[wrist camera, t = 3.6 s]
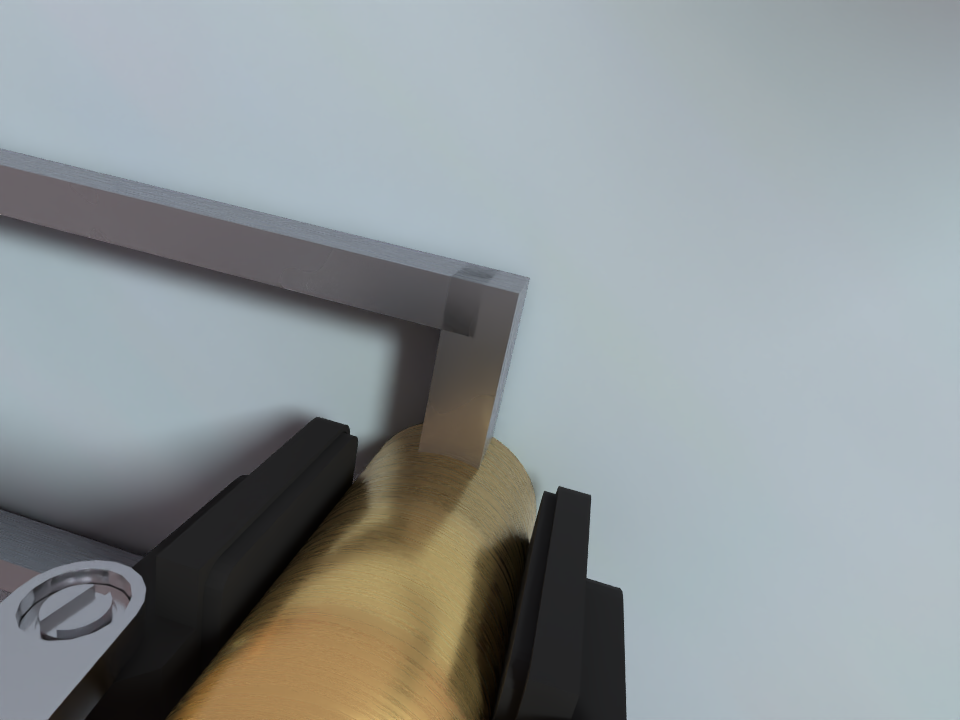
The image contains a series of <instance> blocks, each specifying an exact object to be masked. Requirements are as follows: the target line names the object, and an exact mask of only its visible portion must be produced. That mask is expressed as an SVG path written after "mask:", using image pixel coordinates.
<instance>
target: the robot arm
mask: <svg viewBox="0 0 960 720" xmlns="http://www.w3.org/2000/svg"><path fill="white" fill-rule="evenodd" d="M357 447H358V438H357V437H356V436H353V435H350V428H349V426H348V425H344V424H341V423H338V422H334V421H331V420H327V419H324V418H320V417H316V418H314V419H313V420H312V421H311V422H310V423H308V424H307V425H306V426H305V427H304V428H303V429H302V430H300V431H299V432H298V433H297V434H296V435H295V436H293V437H292V438H291V439H290V440H289V441H288V442H287V443H285V444H284V445H283V446H282V447H281V448H280V449H279V450H277V451H276V452H275V453H274V454H273V455H272V456H271V457H269V458H268V459H267V460H266V461H265V462H264V463H262V464H261V465H260V466H259V467H258V468H257V469H256V470H254V471H253V472H252V473H251V474H250V475H242V476H240V477H239V478H237V479H236V480H234V481H233V482H232V483H231V484H230V485H228V486H227V487H226V488H225V489H224V490H222V491H221V492H220V493H219V494H218V495H217V496H215V497H214V498H213V499H212V500H211V501H210V502H208V503H207V504H206V505H205V506H204V507H202V508H201V509H200V510H199V511H198V512H197V513H195V514H194V515H193V516H192V517H191V518H190V519H188V520H187V521H186V522H185V523H184V524H182V525H181V526H180V527H179V528H178V529H177V530H175V531H174V532H173V533H172V534H171V535H170V536H168V537H167V538H166V539H165V540H164V541H162V542H161V543H160V544H159V545H158V546H157V547H155V548H154V549H153V550H152V551H151V552H150V553H148V554H147V555H146V556H145V557H144V558H142V559H141V560H140V561H139V562H138V563H137V564H135V565H134V566H133V567H132V568H131V567H128V566H125V565H123V564H120V563H117V562H111V561H101V560H93V561H81V562H74V563H71V564H67V565H63V566H59V567H55V568H53V569H51V570H48V571H46V572H44V573H42V574H39V575H37V576H35V577H33V578H32V579H30V580H29V581H27V582H26V583H25V584H23V585H22V586H20V587H19V588H17V589H16V590H15V591H14V592H13V593H11V594H10V595H9V596H8V597H7V598H6V599H4V600H3V601H2V602H1V603H0V720H165V719H166V717H167V716H168V715H169V714H170V712H171V711H172V710H173V709H174V707H175V706H176V705H177V704H178V702H179V701H180V700H181V699H182V697H183V696H184V695H185V694H186V692H187V691H188V690H189V689H190V687H191V686H192V685H193V684H194V682H195V681H196V680H197V679H198V677H199V676H200V675H201V674H202V672H203V671H204V670H205V669H206V667H207V666H208V665H209V664H210V662H211V661H212V660H213V659H214V657H215V656H216V655H217V654H218V652H219V651H220V650H221V649H222V647H223V646H224V645H225V643H226V642H227V641H228V640H229V638H230V637H231V636H232V635H233V633H234V632H235V631H236V630H237V628H238V627H239V626H240V625H241V623H242V622H243V621H244V620H245V618H246V617H247V616H248V615H249V613H250V612H251V611H252V610H253V608H254V607H255V606H256V605H257V603H258V602H259V601H260V600H261V598H262V597H263V596H264V595H265V593H266V592H267V591H268V590H269V588H270V587H271V586H272V585H273V583H274V582H275V581H276V580H277V578H278V577H279V576H280V575H281V573H282V572H283V571H284V570H285V568H286V567H287V566H288V565H289V563H290V562H291V561H292V560H293V558H294V557H295V556H296V555H297V553H298V552H299V551H300V550H301V548H302V547H303V546H304V545H305V543H306V542H307V541H308V539H309V538H310V537H311V536H312V534H313V533H314V532H315V531H316V529H317V528H318V527H319V526H320V524H321V523H322V522H323V521H324V519H325V518H326V517H327V516H328V514H329V513H330V512H331V511H332V509H333V508H334V507H335V506H336V504H337V503H338V502H339V501H340V499H341V498H342V497H343V496H344V494H345V493H346V492H347V491H348V489H349V488H350V487H351V486H352V481H353V474H354V468H355V461H356V454H357ZM590 508H591V495H588V494H585V493H581V492H578V491H574V490H571V489H567V488H564V487H560V486H559V487H558V489H557V492H556V494H553V493H550V492H546V491H544V493H543V496H542V500H541V503H540V507H539V511H538V514H537V518H536V521H535V525H534V528H533V532H532V536H531V539H530V543H529V547H528V552H527V557H526V561H525V566H524V571H523V575H522V580H521V585H520V589H519V594H518V599H517V603H516V608H515V613H514V617H513V622H512V627H511V631H510V636H509V641H508V645H507V650H506V655H505V659H504V664H503V669H502V673H501V678H500V683H499V688H498V692H497V697H496V702H495V706H494V711H493V716H492V720H627V719H626V683H625V646H624V610H623V593H622V590H621V589H620V588H617V587H614V586H611V585H607V584H604V583H601V582H597V581H594V580H591V579H588V578H586V575H587V558H588V542H589V525H590Z"/></svg>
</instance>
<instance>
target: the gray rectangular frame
mask: <svg viewBox="0 0 960 720" xmlns="http://www.w3.org/2000/svg"><path fill="white" fill-rule="evenodd" d="M0 215H3V216H7V217H11V218H15V219H19V220H23V221H26V222H30V223H34V224H38V225H42V226H46V227H50V228H53V229H57V230H61V231H65V232H69V233H73V234H76V235H80V236H84V237H88V238H92V239H96V240H100V241H103V242H107V243H111V244H115V245H119V246H123V247H126V248H130V249H134V250H138V251H142V252H146V253H149V254H153V255H157V256H161V257H165V258H169V259H173V260H176V261H180V262H184V263H188V264H192V265H196V266H199V267H203V268H207V269H211V270H215V271H219V272H222V273H226V274H230V275H234V276H238V277H242V278H246V279H249V280H253V281H257V282H261V283H265V284H269V285H272V286H276V287H280V288H284V289H288V290H292V291H295V292H299V293H303V294H307V295H311V296H315V297H319V298H322V299H326V300H330V301H334V302H338V303H342V304H345V305H349V306H353V307H357V308H361V309H365V310H369V311H372V312H376V313H380V314H384V315H388V316H392V317H395V318H399V319H403V320H407V321H411V322H415V323H418V324H422V325H426V326H430V327H434V328H438V329H441V332H440V338H439V343H438V348H437V354H436V359H435V364H434V370H433V375H432V380H431V386H430V391H429V396H428V402H427V407H426V412H425V418H424V423H423V424H419V425H415V426H412V427H409V428H407V429H405V430H403V431H401V432H399V433H398V434H396V435H395V436H393V437H392V438H391V439H390V440H389V441H388V442H386V443H385V444H384V446H383V447H382V448H381V449H380V451H379V452H378V453H377V454H376V456H375V457H374V458H373V459H372V461H371V462H370V463H369V464H368V466H367V467H366V468H365V469H364V471H363V472H362V473H361V474H360V476H359V477H358V478H357V479H356V481H355V482H354V483H353V484H352V486H351V487H350V488H349V489H348V491H347V492H346V493H345V494H344V496H343V497H342V498H341V499H340V501H339V502H338V503H337V504H336V506H335V507H334V508H333V509H332V511H331V512H330V513H329V514H328V516H327V517H326V518H325V519H324V521H323V522H322V523H321V524H320V526H319V527H318V528H317V529H316V531H315V532H314V533H313V534H312V536H311V537H310V538H309V539H308V541H307V542H306V543H305V545H304V546H303V547H302V548H301V550H300V551H299V552H298V553H297V555H296V556H295V557H294V558H293V560H292V561H291V562H290V563H289V565H288V566H287V567H286V568H285V570H284V571H283V572H282V573H281V575H280V576H279V577H278V578H277V580H276V581H275V582H274V583H273V585H272V586H271V587H270V588H269V590H268V591H267V592H266V593H265V595H264V596H263V597H262V598H261V600H260V601H259V602H258V603H257V605H256V606H255V607H254V608H253V610H252V611H251V612H250V613H249V615H248V616H247V617H246V618H245V620H244V621H243V622H242V623H241V625H240V626H239V627H238V628H237V630H236V631H235V632H234V633H233V635H232V636H231V637H230V638H229V640H228V641H227V642H226V643H225V645H224V646H223V647H222V649H221V650H220V651H219V652H218V654H217V655H216V656H215V657H214V659H213V660H212V661H211V662H210V664H209V665H208V666H207V667H206V669H205V670H204V671H203V672H202V674H201V675H200V676H199V677H198V679H197V680H196V681H195V682H194V684H193V685H192V686H191V687H190V689H189V690H188V691H187V692H186V694H185V695H184V696H183V697H182V699H181V700H180V701H179V702H178V704H177V705H176V706H175V707H174V709H173V710H172V711H171V712H170V714H169V715H168V716H167V717H166V719H165V720H492V716H493V711H494V706H495V702H496V697H497V692H498V688H499V683H500V678H501V673H502V669H503V664H504V659H505V655H506V650H507V645H508V641H509V636H510V631H511V627H512V622H513V617H514V613H515V608H516V603H517V599H518V594H519V589H520V585H521V580H522V575H523V571H524V566H525V561H526V557H527V552H528V547H529V543H530V539H531V536H532V532H533V528H534V523H535V518H536V500H535V494H534V490H533V486H532V483H531V481H530V479H529V476H528V474H527V472H526V471H525V469H524V467H523V466H522V464H521V463H520V462H519V460H518V459H517V458H516V456H515V455H514V454H513V453H512V452H511V451H510V450H509V449H508V448H507V447H505V446H504V445H503V444H502V443H501V442H499V441H498V440H496V439H495V438H493V433H494V429H495V425H496V421H497V416H498V412H499V408H500V404H501V399H502V395H503V391H504V387H505V382H506V378H507V374H508V370H509V365H510V361H511V357H512V353H513V348H514V344H515V340H516V336H517V331H518V327H519V323H520V318H521V314H522V310H523V306H524V301H525V297H526V293H527V289H528V284H529V280H530V278H528V277H524V276H520V275H516V274H512V273H508V272H504V271H500V270H496V269H492V268H487V267H483V266H479V265H475V264H471V263H467V262H463V261H459V260H455V259H451V258H446V257H442V256H438V255H434V254H430V253H426V252H422V251H418V250H414V249H410V248H406V247H401V246H397V245H393V244H389V243H385V242H381V241H377V240H373V239H369V238H365V237H361V236H356V235H352V234H348V233H344V232H340V231H336V230H332V229H328V228H324V227H320V226H315V225H311V224H307V223H303V222H299V221H295V220H291V219H287V218H283V217H279V216H275V215H270V214H266V213H262V212H258V211H254V210H250V209H246V208H242V207H238V206H234V205H229V204H225V203H221V202H217V201H213V200H209V199H205V198H201V197H197V196H193V195H189V194H184V193H180V192H176V191H172V190H168V189H164V188H160V187H156V186H152V185H148V184H144V183H139V182H135V181H131V180H127V179H123V178H119V177H115V176H111V175H107V174H103V173H98V172H94V171H90V170H86V169H82V168H78V167H74V166H70V165H66V164H62V163H58V162H53V161H49V160H45V159H41V158H37V157H33V156H29V155H25V154H21V153H17V152H13V151H8V150H4V149H0ZM142 558H144V557H142V556H139V555H136V554H133V553H130V552H127V551H124V550H121V549H118V548H115V547H112V546H109V545H106V544H103V543H100V542H97V541H94V540H91V539H88V538H85V537H82V536H79V535H76V534H73V533H70V532H67V531H64V530H61V529H58V528H55V527H52V526H49V525H46V524H43V523H40V522H37V521H34V520H31V519H28V518H25V517H22V516H19V515H16V514H13V513H10V512H7V511H4V510H1V509H0V589H2V590H5V591H8V592H10V593H13V592H14V591H15V590H16V589H17V588H19V587H20V586H22V585H23V584H25V583H26V582H27V581H29V580H30V579H32V578H33V577H35V576H37V575H39V574H42V573H44V572H46V571H48V570H51V569H53V568H55V567H59V566H63V565H67V564H71V563H74V562H81V561H93V560H101V561H111V562H117V563H120V564H123V565H125V566H128V567H131V568H132V567H133V566H134V565H135V564H137V563H138V562H139V561H140V560H141V559H142Z"/></svg>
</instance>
